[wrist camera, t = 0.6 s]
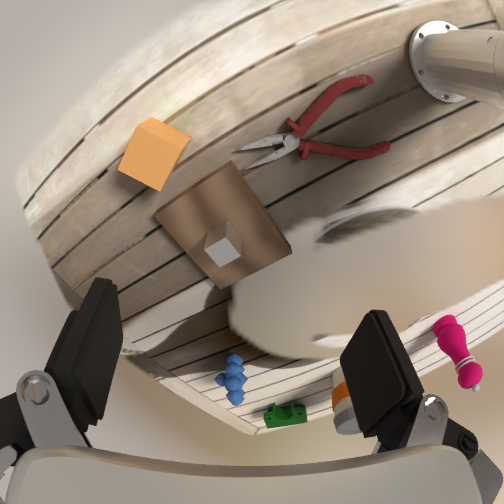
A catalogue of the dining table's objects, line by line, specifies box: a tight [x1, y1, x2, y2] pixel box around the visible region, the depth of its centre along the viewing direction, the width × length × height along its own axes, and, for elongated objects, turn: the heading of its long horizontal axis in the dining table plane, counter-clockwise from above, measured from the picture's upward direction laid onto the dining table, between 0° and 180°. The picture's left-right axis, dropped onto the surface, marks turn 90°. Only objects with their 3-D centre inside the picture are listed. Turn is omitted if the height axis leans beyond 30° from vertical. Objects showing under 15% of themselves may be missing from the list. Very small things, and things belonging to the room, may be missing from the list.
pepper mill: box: [433, 315, 483, 392], centre depth 51 cm, size 7×7×20 cm
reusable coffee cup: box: [332, 366, 362, 435], centre depth 61 cm, size 13×13×15 cm
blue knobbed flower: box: [214, 354, 247, 406], centre depth 57 cm, size 12×7×12 cm, turn 2°
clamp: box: [264, 400, 307, 428], centre depth 74 cm, size 12×6×9 cm, turn 99°
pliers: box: [235, 75, 391, 170], centre depth 36 cm, size 12×20×3 cm, turn 112°
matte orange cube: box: [118, 117, 192, 191], centre depth 34 cm, size 6×6×6 cm
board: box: [154, 160, 292, 290], centre depth 41 cm, size 13×16×6 cm
